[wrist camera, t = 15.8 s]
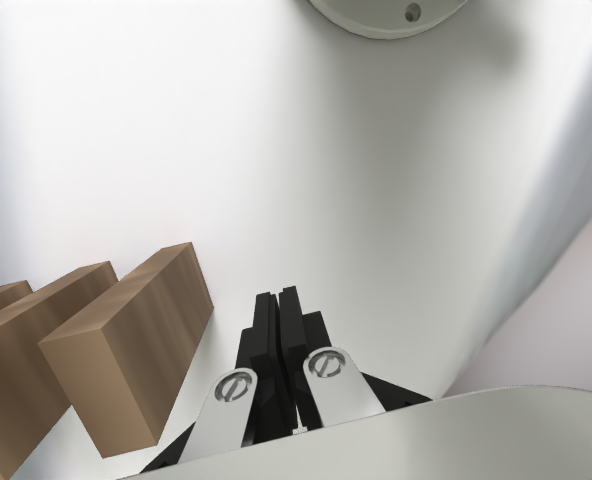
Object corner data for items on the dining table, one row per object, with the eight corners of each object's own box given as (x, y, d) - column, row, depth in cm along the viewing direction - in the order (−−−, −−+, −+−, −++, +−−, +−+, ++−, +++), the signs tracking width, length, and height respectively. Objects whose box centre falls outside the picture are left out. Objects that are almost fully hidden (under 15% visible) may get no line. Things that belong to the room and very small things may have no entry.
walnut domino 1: (109, 260, 18) (-75, 370, 9) (137, 325, 20) (6, 482, 10) (79, 267, 18) (-140, 385, 8) (109, 332, 19) (-49, 495, 10)
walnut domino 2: (191, 241, 18) (100, 328, 9) (213, 307, 20) (157, 445, 10) (161, 248, 18) (37, 343, 9) (186, 313, 20) (102, 458, 10)
